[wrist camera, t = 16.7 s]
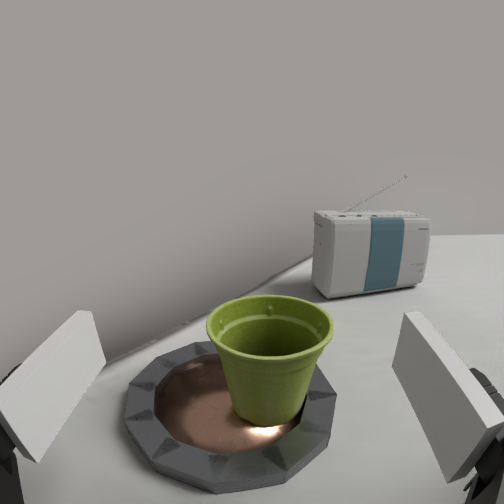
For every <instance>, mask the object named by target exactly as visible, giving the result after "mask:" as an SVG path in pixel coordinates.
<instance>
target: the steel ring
mask: <svg viewBox="0 0 504 504" xmlns="http://www.w3.org/2000/svg"><path fill="white" fill-rule="evenodd" d="M336 397H337V393H336V392H335V391H334V390H333V388H332V387H331V385H330V384H329V382H328V381H327V379H326V378H325V376H324V375H323V373H322V372H321V370H320V369H319V367H318V366H317V364H316V365H315V368H314V371H313V374H312V377H311V380H310V383H309V386H308V389H307V392H306V395H305V398H304V401H303V404H302V407H301V409H300V410H299V412H298V413H297V414H296V415H295V417H294V418H293V419H291V420H290V421H288V422H286V423H283V424H280V425H276V426H259V425H255V424H254V423H252V422H250V421H248V420H246V419H244V418H241V417H240V416H238V414H237V413H236V412H235V410H234V408H233V404H232V401H231V397H230V393H229V389H228V385H227V381H226V377H225V373H224V369H223V365H222V361H221V357H220V355H219V354H218V352H217V350H216V347H215V345H214V344H213V342H212V341H206V342H194V343H192V344H190V345H187V346H184V347H182V348H179V349H177V350H174V351H172V352H169V353H166V354H164V355H161V356H158V357H156V358H155V359H154V360H153V361H152V362H151V363H150V364H149V365H148V366H147V367H146V368H145V369H144V370H143V371H142V372H141V373H140V374H139V375H138V376H137V377H136V378H134V379H133V380H132V381H131V382H130V383H129V389H128V395H127V401H126V408H125V415H124V423H125V425H126V427H127V430H128V432H129V434H130V435H131V437H132V438H133V440H134V441H135V443H136V444H137V445H138V447H139V448H140V450H141V451H142V453H143V454H144V455H145V457H146V458H147V460H148V461H149V462H150V464H151V465H152V466H153V468H154V469H155V471H156V472H159V473H161V474H163V475H166V476H168V477H170V478H173V479H176V480H178V481H181V482H183V483H186V484H189V485H191V486H194V487H197V488H200V489H203V490H206V491H209V492H212V493H215V494H221V493H230V492H237V491H244V490H251V489H257V488H262V487H268V486H273V485H278V484H282V483H286V482H287V481H288V480H289V479H290V478H292V477H293V476H294V475H295V474H296V473H298V472H299V471H300V470H301V469H303V468H304V467H305V466H306V465H307V464H308V463H310V462H311V461H312V460H313V459H314V458H315V457H316V456H317V455H319V454H320V453H321V452H322V451H323V450H324V449H325V448H327V446H328V442H329V439H330V435H331V427H332V421H333V415H334V409H335V402H336Z"/></svg>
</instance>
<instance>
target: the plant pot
mask: <svg viewBox="0 0 504 504" xmlns="http://www.w3.org/2000/svg"><path fill="white" fill-rule="evenodd" d="M206 330H207V334H208V336H209V338H210V340H211V341H212V342H213V344H214V345H215V347H216V350H217V352H218V354H219V355H220V357H221V361H222V365H223V369H224V373H225V377H226V381H227V385H228V389H229V393H230V397H231V401H232V404H233V408H234V410H235V412H236V413H237V414H238V416H240V417H241V418H244V419H246V420H248V421H250V422H252V423H254V424H255V425H259V426H276V425H280V424H283V423H286V422H288V421H290V420H291V419H293V418H294V417H295V415H296V414H297V413H298V412H299V410H300V409H301V407H302V404H303V401H304V398H305V395H306V392H307V389H308V386H309V383H310V380H311V377H312V374H313V371H314V368H315V365H316V362H317V359H318V357H319V356H320V355H321V353H322V351H323V349H324V347H325V346H326V345H327V344H328V343H329V342H330V340H331V339H332V336H333V333H334V322H333V319H332V317H331V316H330V315H329V313H328V312H326V310H324V309H323V308H321V307H320V306H318V305H316V304H314V303H311V302H309V301H306V300H303V299H300V298H296V297H290V296H283V295H255V296H249V297H243V298H239V299H235V300H232V301H229V302H227V303H224V304H223V305H221V306H219V307H217V308H216V309H215V310H214V311H213V312H212V313H211V314H210V315H209V317H208V319H207V322H206Z"/></svg>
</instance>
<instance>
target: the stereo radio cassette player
mask: <svg viewBox="0 0 504 504" xmlns="http://www.w3.org/2000/svg"><path fill="white" fill-rule="evenodd" d="M406 177H407V175H405V176H404V177H403V178H406ZM403 178H401V179H403ZM401 179H399V180H397V181H395V182H393V183H392V184H390V185H388V186H386V187H384V188H383V189H380V190H379V191H377V192H375V193H373V194H372V195H370V196H368V197H366V198H365V199H363V200H361V201H359V202H358V203H356V204H354V205H352V206H351V207H349V208H347V209H345V210H343V211H340V210H338V211H337V210H336V211H315V212H314V222H315V227H314V246H313V263H312V282H313V283H314V285H315V286H316V288H317V289H318V290H319V291H320V292H321V293H322V294H323V295H324V296H325V297H326V298H327V299H331V298H335V297H343V296H350V295H357V294H364V293H371V292H378V291H384V290H390V289H397V288H403V287H409V286H415V285H417V283H421V282H422V280H423V277H424V273H425V268H426V263H427V257H428V250H429V242H430V233H431V220H430V219H429V218H428V217H425V216H421V215H418V214H415V213H411V212H407V211H378V210H377V211H376V210H375V211H374V210H371V211H370V210H369V211H368V210H367V211H365V210H362V211H361V210H356V211H355V210H351V209H353V208H354V207H356V206H358V205H360V204H361V203H363V202H365V201H366V200H368V199H370V198H372V197H374V196H375V195H377V194H379V193H380V192H382V191H384V190H385V189H387V188H389V187H390V186H392V185H393V184H395V183H397V182H398V181H400V180H401Z"/></svg>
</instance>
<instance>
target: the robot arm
mask: <svg viewBox="0 0 504 504" xmlns="http://www.w3.org/2000/svg"><path fill="white" fill-rule="evenodd" d="M105 363H106V360H105V357H104V354H103V351H102V348H101V344H100V341H99V337H98V334H97V330H96V327H95V323H94V319H93V315H92V312H91V311H80V310H78V311H77V312H76V313H75V314H74V315H72V316H71V317H70V318H69V319H68V320H67V321H66V322H65V323H64V324H63V325H62V326H60V327H59V328H58V329H57V330H56V331H55V332H54V333H53V334H52V335H51V336H50V337H49V338H48V339H47V340H46V341H45V342H43V343H42V344H41V345H40V346H39V347H38V348H37V349H36V350H35V351H34V352H33V353H32V354H31V355H30V356H29V357H28V358H27V359H26V360H25V361H24V362H23V363H21V364H19V365H18V366H16V367H15V368H14V369H13V370H12V371H11V372H10V373H9V374H8V376H6V377H5V378H4V379H3V380H2V382H0V504H24V500H23V495H22V490H21V485H20V479H19V473H18V466H17V458H16V455H15V453H14V452H13V450H14V448H15V447H17V449H18V450H19V451H20V453H21V454H22V455H23V456H24V457H25V458H27V459H29V460H31V461H33V462H35V463H37V464H38V463H39V462H40V460H41V459H42V457H43V455H44V454H45V452H46V451H47V449H48V447H49V446H50V444H51V443H52V441H53V440H54V438H55V437H56V435H57V433H58V432H59V430H60V429H61V427H62V426H63V424H64V423H65V421H66V420H67V418H68V417H69V415H70V414H71V412H72V411H73V409H74V408H75V406H76V405H77V403H78V402H79V401H80V399H81V398H82V396H83V395H84V393H85V392H86V390H87V389H88V388H89V386H90V385H91V383H92V382H93V380H94V379H95V378H96V376H97V375H98V373H99V372H100V370H101V369H102V368H103V366H104V365H105ZM392 368H393V370H394V372H395V373H396V375H397V377H398V379H399V381H400V383H401V385H402V387H403V389H404V391H405V393H406V395H407V397H408V399H409V401H410V403H411V405H412V407H413V409H414V411H415V413H416V415H417V417H418V419H419V422H420V424H421V426H422V428H423V430H424V432H425V434H426V436H427V439H428V441H429V443H430V445H431V447H432V450H433V452H434V454H435V456H436V459H437V461H438V463H439V466H440V468H441V470H442V473H443V475H444V477H445V480H446V482H447V484H448V483H451V482H453V481H456V480H458V479H461V478H463V477H466V476H467V475H468V473H469V472H470V471H471V470H472V468H473V467H474V466H475V468H476V470H477V474H476V475H475V476H474V477H473V478H472V479H471V481H470V482H469V483H468V484H467V485H466V486H465V488H464V490H463V491H466V490H467V489H468V488H469V487H470V486H471V487H470V490H469V493H468V496H467V499H466V501H465V504H504V399H503V398H502V396H501V395H500V394H499V393H497V390H496V389H495V387H494V386H492V384H491V382H490V381H489V380H488V379H487V377H486V376H485V375H484V374H483V373H481V372H480V371H478V370H477V369H475V368H471V369H468V368H467V366H466V365H465V364H464V363H463V361H462V360H461V359H460V358H459V356H458V355H457V354H456V353H455V352H454V350H453V349H452V348H451V347H450V345H449V344H448V343H447V342H446V341H445V340H444V338H443V337H442V336H441V335H440V334H439V332H438V331H437V330H436V329H435V328H434V327H433V326H432V324H431V323H430V322H429V321H428V320H427V319H426V318H425V316H424V315H423V314H422V313H421V312H420V311H416V312H405V313H404V316H403V321H402V326H401V330H400V335H399V339H398V343H397V348H396V352H395V356H394V359H393V363H392Z"/></svg>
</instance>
